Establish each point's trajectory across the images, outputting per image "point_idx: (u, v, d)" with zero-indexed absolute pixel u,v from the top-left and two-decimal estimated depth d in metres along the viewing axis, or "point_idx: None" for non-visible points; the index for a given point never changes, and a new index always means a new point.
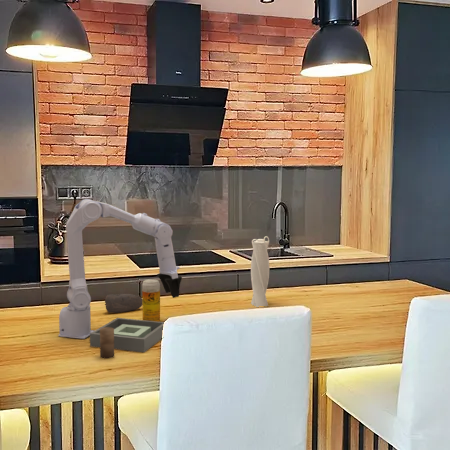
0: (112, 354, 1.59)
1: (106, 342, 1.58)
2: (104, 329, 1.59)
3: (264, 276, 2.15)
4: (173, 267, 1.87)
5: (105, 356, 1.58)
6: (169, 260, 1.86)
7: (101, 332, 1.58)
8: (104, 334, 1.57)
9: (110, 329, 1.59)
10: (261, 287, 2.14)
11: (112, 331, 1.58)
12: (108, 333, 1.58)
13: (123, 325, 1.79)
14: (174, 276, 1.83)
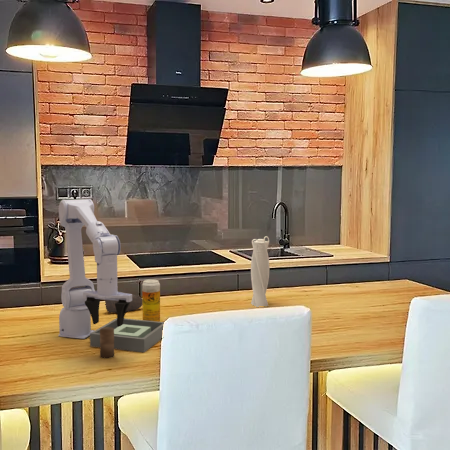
0: (112, 354, 1.59)
1: (106, 342, 1.58)
2: (104, 329, 1.59)
3: (264, 276, 2.15)
4: (97, 291, 1.57)
5: (105, 356, 1.58)
6: None
7: (101, 332, 1.58)
8: (104, 334, 1.57)
9: (110, 329, 1.59)
10: (261, 287, 2.14)
11: (112, 331, 1.58)
12: (108, 333, 1.58)
13: (123, 325, 1.79)
14: None
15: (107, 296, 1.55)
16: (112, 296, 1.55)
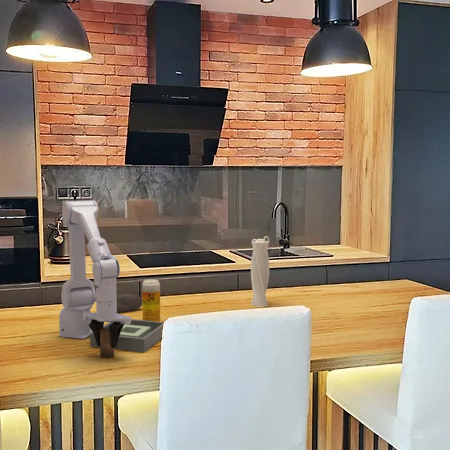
0: (112, 354, 1.59)
1: (106, 342, 1.58)
2: (104, 329, 1.59)
3: (264, 276, 2.15)
4: (96, 313, 1.58)
5: (105, 356, 1.58)
6: None
7: (101, 332, 1.58)
8: (104, 334, 1.57)
9: None
10: (261, 287, 2.14)
11: None
12: (108, 333, 1.58)
13: None
14: None
15: (106, 319, 1.56)
16: (111, 319, 1.56)
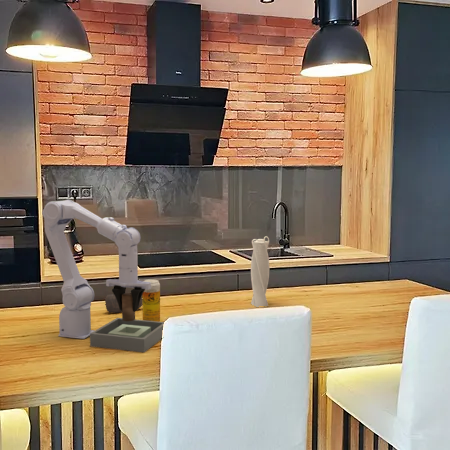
0: (133, 317, 1.72)
1: (128, 306, 1.70)
2: (126, 294, 1.72)
3: (264, 276, 2.15)
4: (119, 279, 1.71)
5: (127, 319, 1.71)
6: None
7: (123, 297, 1.70)
8: (125, 298, 1.70)
9: (131, 294, 1.72)
10: (261, 287, 2.14)
11: None
12: (130, 298, 1.70)
13: (123, 325, 1.79)
14: None
15: (128, 284, 1.69)
16: (133, 284, 1.69)
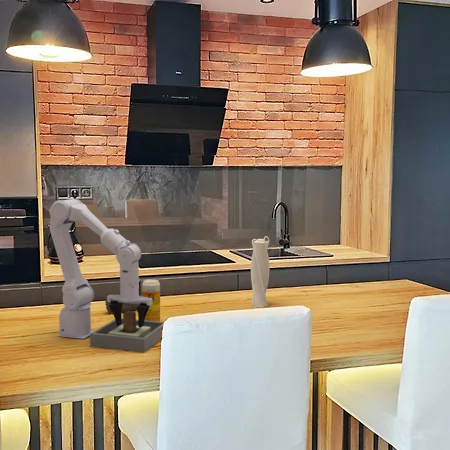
0: None
1: (129, 325, 1.72)
2: (127, 313, 1.73)
3: (264, 276, 2.15)
4: (120, 295, 1.72)
5: None
6: None
7: (124, 315, 1.72)
8: (127, 317, 1.72)
9: (132, 313, 1.73)
10: (261, 287, 2.14)
11: (134, 314, 1.73)
12: (131, 316, 1.72)
13: None
14: None
15: (129, 300, 1.70)
16: (134, 300, 1.70)
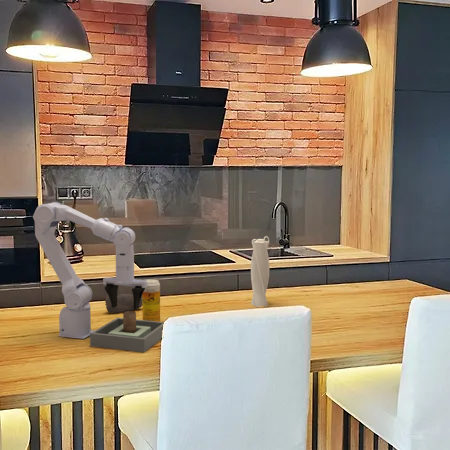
0: None
1: (129, 325, 1.72)
2: (127, 313, 1.73)
3: (264, 276, 2.15)
4: None
5: None
6: None
7: (124, 315, 1.72)
8: (127, 317, 1.72)
9: (132, 313, 1.73)
10: (261, 287, 2.14)
11: (134, 314, 1.73)
12: (131, 316, 1.72)
13: None
14: None
15: (125, 282, 1.73)
16: (129, 282, 1.73)
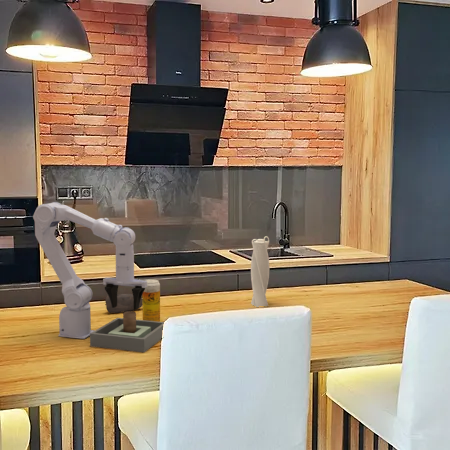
0: None
1: (129, 325, 1.72)
2: (127, 313, 1.73)
3: (264, 276, 2.15)
4: None
5: None
6: None
7: (124, 315, 1.72)
8: (127, 317, 1.72)
9: (132, 313, 1.73)
10: (261, 287, 2.14)
11: (134, 315, 1.73)
12: (131, 316, 1.72)
13: None
14: None
15: (125, 282, 1.73)
16: (129, 282, 1.73)
